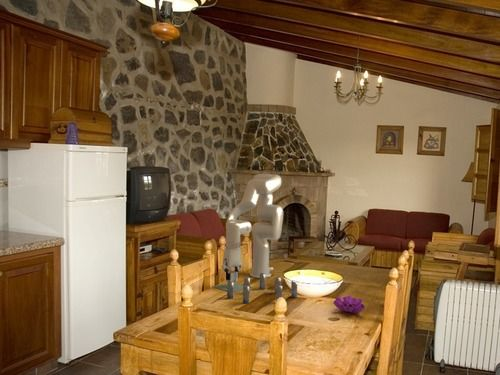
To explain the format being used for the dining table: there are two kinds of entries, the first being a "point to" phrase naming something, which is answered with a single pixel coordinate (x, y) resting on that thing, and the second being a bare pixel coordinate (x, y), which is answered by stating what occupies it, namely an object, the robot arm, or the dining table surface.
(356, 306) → the purple knobbly lump
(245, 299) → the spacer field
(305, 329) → the dining table surface
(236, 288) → the rubber mat
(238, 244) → the robot arm
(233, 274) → the hex nut
